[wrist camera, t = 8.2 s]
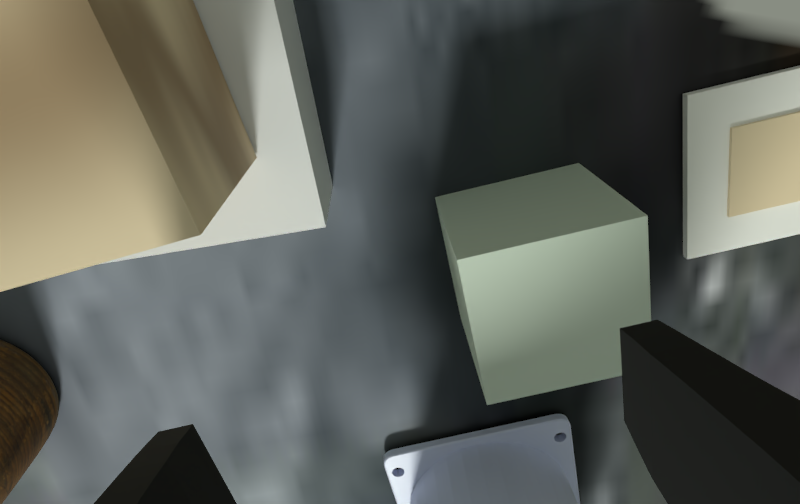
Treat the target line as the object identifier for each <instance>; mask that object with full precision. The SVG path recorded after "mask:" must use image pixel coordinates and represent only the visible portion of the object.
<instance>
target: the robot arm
mask: <svg viewBox="0 0 800 504" xmlns="http://www.w3.org/2000/svg"><path fill="white" fill-rule="evenodd" d="M620 345H621V364H622V384H623V403H624V421H625V423H626V425H627V427H628V429H629V432H630V434H631V436H632V438H633V440H634V442H635V444H636V446H637V448H638V451H639V453H640V455H641V457H642V459H643V461H644V463H645V465H646V467H647V469H648V471H649V473H650V475H651V477H652V479H653V480H654V482H655V484H656V485H657V487H658V489H659V490H660V492H661V493H662V495H663V497H664V498H665V500H666V501H667V503H668V504H800V400H798V399H796V398H794V397H792V396H791V395H789V394H787V393H785V392H783V391H781V390H780V389H778V388H776V387H774V386H772V385H770V384H769V383H767V382H765V381H763V380H761V379H760V378H758V377H756V376H754V375H753V374H751V373H749V372H747V371H745V370H744V369H742V368H740V367H738V366H737V365H735V364H733V363H731V362H730V361H728V360H726V359H725V358H723V357H721V356H719V355H718V354H716V353H714V352H712V351H711V350H709V349H707V348H706V347H704V346H702V345H700V344H699V343H697V342H695V341H694V340H692V339H690V338H688V337H687V336H685V335H683V334H682V333H680V332H678V331H676V330H675V329H673V328H671V327H669V326H668V325H666V324H664V323H662V322H661V321H659V320H654V321H650V322H645V323H641V324H636V325H632V326H627V327H623V328H620ZM558 433H561V434H560V435H556V434H558ZM384 467H385V470H386V473H387V476H388V479H389V482H390V485H391V488H392V491H393V494H394V497H395V500H396V502H397V504H580V498H579V489H578V481H577V473H576V465H575V457H574V449H573V441H572V432H571V425H570V423H569V420H568V418H567V417H566V416H565V415H563V414H552V415H548V416H543V417H539V418H534V419H529V420H525V421H520V422H516V423H511V424H506V425H502V426H497V427H493V428H488V429H483V430H479V431H474V432H470V433H465V434H460V435H456V436H451V437H447V438H442V439H437V440H433V441H428V442H424V443H419V444H414V445H410V446H405V447H401V448H396V449H392V450H389V451H388V452H386V453H385V455H384ZM395 468H401V469H395ZM94 504H236V502H235V500H234V498H233V496H232V495H231V493H230V491H229V489H228V487H227V485H226V484H225V482H224V480H223V478H222V476H221V474H220V473H219V471H218V469H217V467H216V465H215V464H214V462H213V460H212V458H211V456H210V454H209V453H208V451H207V449H206V447H205V445H204V444H203V442H202V440H201V438H200V436H199V434H198V433H197V431H196V429H195V427H194V425H193V424H191V425H187V426H182V427H178V428H174V429H169V430H165V431H160V432H158V433H157V434H156V435H155V436H154V437H153V438H152V439H151V440H150V441H149V442H148V443H147V444H146V445H145V446H144V447H143V448H142V450H141V451H140V452H139V453H138V454H137V455H136V456H135V457H134V458H133V459H132V461H131V462H130V463H129V464H128V465H127V466H126V467H125V469H124V470H123V471H122V472H121V473H120V474H119V475H118V477H117V478H116V479H115V480H114V481H113V482H112V483H111V485H110V486H109V487H108V488H107V489H106V490H105V491H104V493H103V494H102V495H101V496H100V497H99V498H98V499H97V501H96V502H95V503H94Z"/></svg>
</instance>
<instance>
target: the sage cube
mask: <svg viewBox="0 0 800 504" xmlns="http://www.w3.org/2000/svg"><path fill="white" fill-rule="evenodd" d="M435 201H436V206H437V210H438V215H439V220H440V224H441V229H442V234H443V238H444V243H445V248H446V252H447V257H448V262H449V266H450V271H451V276H452V280H453V285H454V289H455V294H456V299H457V303H458V308H459V313H460V317H461V321H462V324H463V327H464V331H465V334H466V337H467V341H468V344H469V347H470V351H471V354H472V357H473V361H474V364H475V367H476V371H477V374H478V377H479V380H480V384H481V387H482V390H483V394H484V397H485V400H486V404H487V405H491V404H495V403H500V402H504V401H509V400H513V399H518V398H522V397H527V396H531V395H536V394H540V393H545V392H549V391H554V390H558V389H563V388H567V387H572V386H577V385H581V384H586V383H590V382H595V381H599V380H604V379H608V378H613V377H617V376H622V364H621V345H620V328H623V327H627V326H632V325H636V324H641V323H645V322H650V321H651V302H650V271H649V240H648V215H646V214H645V213H644V212H642V211H641V210H640V209H638V208H637V207H636V206H634V205H633V204H632V203H631V202H629V201H628V200H627V199H625V198H624V197H623V196H621V195H620V194H619V193H617V192H616V191H615V190H614V189H612V188H611V187H610V186H608V185H607V184H606V183H604V182H603V181H602V180H601V179H599V178H598V177H597V176H595V175H594V174H593V173H591V172H590V171H589V170H587V169H586V168H585V167H584V166H582V165H581V164H580V163H576V164H572V165H568V166H564V167H560V168H555V169H551V170H547V171H543V172H539V173H534V174H530V175H526V176H522V177H517V178H513V179H509V180H505V181H501V182H496V183H492V184H488V185H484V186H480V187H475V188H471V189H467V190H463V191H459V192H454V193H450V194H446V195H442V196H438V197H435Z"/></svg>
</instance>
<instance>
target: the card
mask: <svg viewBox="0 0 800 504" xmlns="http://www.w3.org/2000/svg"><path fill="white" fill-rule="evenodd" d="M797 234H800V65H799V66H795V67H791V68H787V69H783V70H778V71H774V72H770V73H766V74H762V75H758V76H754V77H750V78H745V79H741V80H737V81H733V82H729V83H725V84H721V85H717V86H712V87H708V88H704V89H700V90H696V91H692V92H688V93H684V94H683V257H685V258H686V259H687V260H688V259H692V258H696V257H701V256H705V255H709V254H714V253H718V252H723V251H727V250H731V249H736V248H740V247H745V246H749V245H753V244H758V243H762V242H766V241H771V240H775V239H780V238H784V237H788V236H793V235H797Z"/></svg>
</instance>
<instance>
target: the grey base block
mask: <svg viewBox="0 0 800 504" xmlns="http://www.w3.org/2000/svg"><path fill="white" fill-rule="evenodd" d="M193 1H194V4H195V6H196V9H197V11H198V14H199V16H200V19H201V21H202V24H203V26H204V29H205V31H206V33H207V36H208V38H209V41H210V43H211V46H212V48H213V51H214V53H215V56H216V58H217V61H218V63H219V65H220V68H221V70H222V73H223V75H224V78H225V80H226V83H227V85H228V88H229V90H230V93H231V95H232V98H233V100H234V102H235V105H236V107H237V110H238V112H239V115H240V117H241V120H242V122H243V125H244V127H245V130H246V132H247V134H248V137H249V139H250V142H251V144H252V147H253V149H254V152H255V154H256V157H257V158H256V159H255V161H254V162H253V164H252V165H251V166H250V168H249V169H248V170H247V172H246V173H245V175H244V176H243V177H242V179H241V180H240V181H239V183H238V184H237V186H236V187H235V188H234V190H233V191H232V193H231V194H230V195H229V197H228V198H227V199H226V201H225V202H224V204H223V205H222V206H221V208H220V209H219V211H218V212H217V213H216V215H215V216H214V217H213V219H212V220H211V222H210V223H209V224H208V226H207V227H206V229H205V230H204V231H203V233H202V234H201V235H199V236H195V237H192V238H188V239H184V240H181V241H177V242H174V243H170V244H167V245H163V246H160V247H156V248H153V249H149V250H146V251H142V252H139V253H135V254H132V255H128V256H125V257H121V258H118V259H114V260H111V261H107V262H104V263H109V262H115V261H121V260H127V259H133V258H139V257H145V256H152V255H158V254H164V253H170V252H176V251H182V250H188V249H194V248H201V247H207V246H213V245H219V244H225V243H231V242H237V241H243V240H250V239H256V238H262V237H268V236H274V235H280V234H286V233H292V232H299V231H305V230H311V229H317V228H323V227H326V223H327V218H328V212H329V206H330V200H331V194H332V188H333V184H332V179H331V174H330V170H329V165H328V161H327V156H326V151H325V147H324V142H323V137H322V133H321V128H320V123H319V119H318V114H317V109H316V105H315V100H314V95H313V91H312V86H311V82H310V77H309V72H308V68H307V63H306V58H305V54H304V49H303V44H302V40H301V35H300V30H299V26H298V21H297V16H296V12H295V7H294V3H293V0H193ZM100 264H103V263H100Z"/></svg>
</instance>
